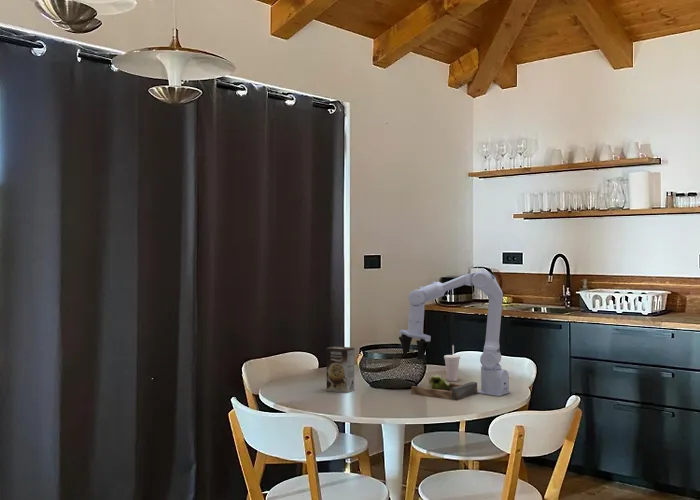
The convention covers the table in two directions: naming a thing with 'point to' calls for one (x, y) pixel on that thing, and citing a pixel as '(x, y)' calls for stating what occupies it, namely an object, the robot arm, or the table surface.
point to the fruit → (438, 383)
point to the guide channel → (455, 393)
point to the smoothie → (452, 365)
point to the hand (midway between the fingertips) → (413, 357)
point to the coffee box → (340, 369)
